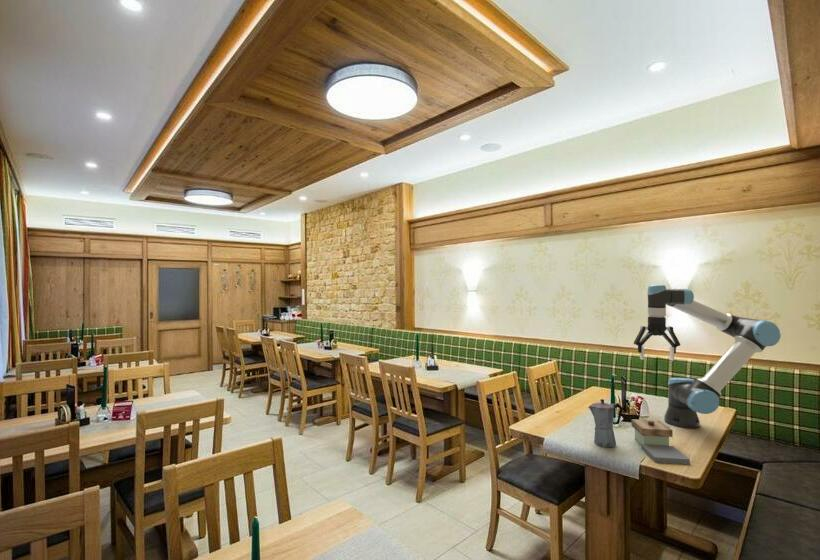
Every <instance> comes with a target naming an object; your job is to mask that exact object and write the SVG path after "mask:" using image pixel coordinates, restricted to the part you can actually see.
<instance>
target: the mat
mask: <svg viewBox="0 0 820 560" xmlns="http://www.w3.org/2000/svg"><path fill="white" fill-rule="evenodd" d="M640 449H641V451H643V452H644V453H645V454H646V455H647V456H648V457H649V458H650V459H651V460H652V461H653V462H654V463H664V464H677V465H679V464H681V465H690V464H691V459H690V458H689V457H688V456H687V455H686V454H684V453H683V452H681V451H680V450H679V449H677V448H676V447H675V446H674V445H669V446H663V445H645V444H641V445H640Z"/></svg>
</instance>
